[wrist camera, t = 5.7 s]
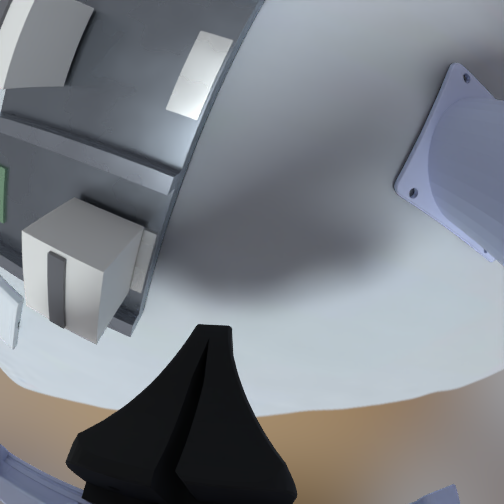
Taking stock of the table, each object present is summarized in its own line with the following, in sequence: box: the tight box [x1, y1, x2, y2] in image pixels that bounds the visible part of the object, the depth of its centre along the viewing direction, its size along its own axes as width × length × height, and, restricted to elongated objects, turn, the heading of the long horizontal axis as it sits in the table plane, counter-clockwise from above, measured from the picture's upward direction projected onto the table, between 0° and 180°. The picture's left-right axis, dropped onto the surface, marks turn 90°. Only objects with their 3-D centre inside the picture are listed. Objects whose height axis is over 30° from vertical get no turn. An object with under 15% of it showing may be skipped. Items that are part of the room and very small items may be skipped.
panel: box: [0, 0, 265, 337], centre depth 9 cm, size 12×27×2 cm, turn 156°
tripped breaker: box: [22, 197, 144, 345], centre depth 11 cm, size 4×4×4 cm
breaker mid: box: [0, 0, 94, 89], centre depth 6 cm, size 4×4×4 cm
